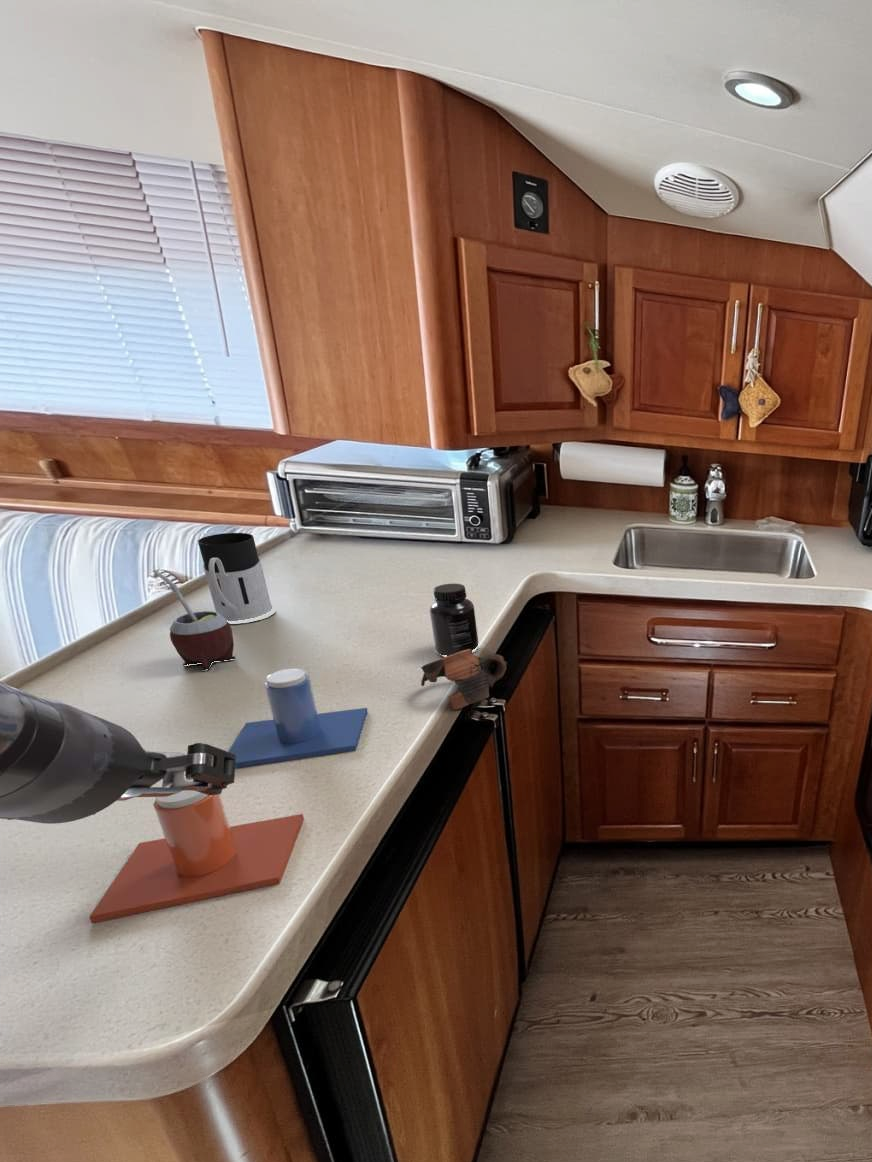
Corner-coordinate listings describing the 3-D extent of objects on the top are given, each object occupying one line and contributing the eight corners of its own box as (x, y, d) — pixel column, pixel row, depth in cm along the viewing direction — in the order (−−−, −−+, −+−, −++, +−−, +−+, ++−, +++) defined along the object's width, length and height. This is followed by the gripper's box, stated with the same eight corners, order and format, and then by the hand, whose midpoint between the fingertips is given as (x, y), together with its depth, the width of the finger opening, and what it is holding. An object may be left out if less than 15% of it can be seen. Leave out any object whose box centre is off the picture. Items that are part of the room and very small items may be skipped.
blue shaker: (274, 746, 83) (258, 686, 79) (283, 727, 86) (268, 669, 83) (317, 740, 84) (303, 681, 81) (324, 722, 88) (311, 665, 85)
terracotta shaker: (168, 882, 62) (141, 808, 59) (187, 849, 66) (162, 779, 63) (228, 870, 64) (205, 798, 61) (243, 839, 68) (222, 770, 65)
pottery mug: (433, 720, 93) (410, 669, 92) (440, 715, 102) (420, 668, 101) (516, 686, 98) (495, 637, 97) (517, 684, 106) (497, 639, 106)
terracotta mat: (91, 923, 58) (88, 917, 58) (141, 848, 67) (139, 842, 66) (280, 883, 64) (278, 877, 64) (304, 818, 72) (303, 813, 72)
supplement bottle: (484, 642, 116) (477, 581, 112) (472, 659, 110) (465, 595, 106) (443, 642, 115) (435, 580, 111) (429, 659, 109) (420, 594, 104)
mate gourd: (234, 668, 101) (210, 580, 95) (167, 677, 97) (137, 586, 91) (242, 649, 107) (220, 565, 101) (179, 656, 103) (153, 569, 97)
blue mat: (221, 770, 79) (220, 765, 78) (247, 727, 87) (246, 722, 87) (355, 750, 84) (354, 745, 84) (367, 712, 93) (367, 707, 93)
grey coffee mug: (281, 604, 124) (263, 530, 118) (260, 634, 112) (240, 553, 106) (223, 608, 120) (202, 532, 115) (196, 640, 108) (171, 556, 103)
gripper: (177, 692, 48) (258, 738, 61) (-107, 723, 42) (53, 766, 55) (167, 793, 45) (254, 818, 59) (-136, 842, 39) (39, 856, 53)
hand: (157, 793), depth 57 cm, fingers open, 8 cm apart
